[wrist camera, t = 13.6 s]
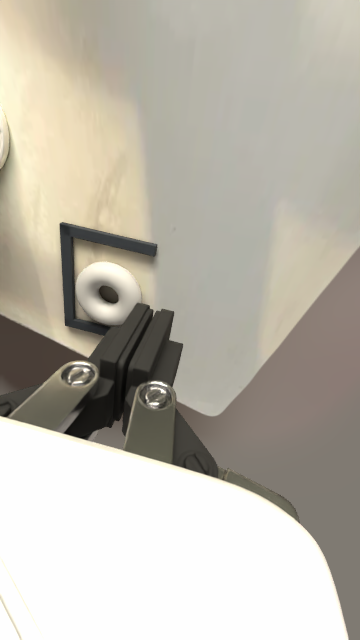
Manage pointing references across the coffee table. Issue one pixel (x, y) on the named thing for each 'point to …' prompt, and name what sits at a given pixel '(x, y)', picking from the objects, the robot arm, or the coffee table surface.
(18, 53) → the coffee table surface
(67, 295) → the frame
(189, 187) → the coffee table surface
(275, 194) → the coffee table surface
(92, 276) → the donut
